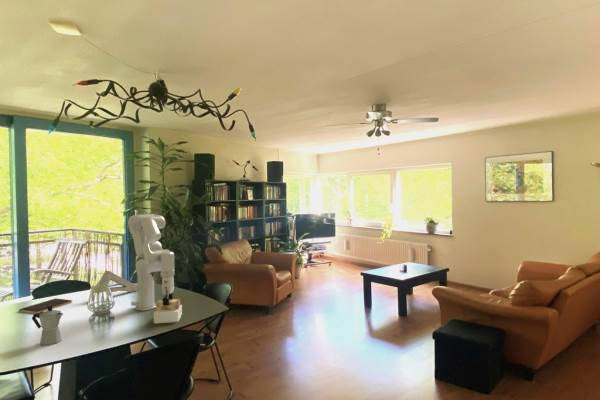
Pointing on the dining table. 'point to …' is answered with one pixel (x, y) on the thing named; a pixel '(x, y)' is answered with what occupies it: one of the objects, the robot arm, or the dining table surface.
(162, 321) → the white recessed tray
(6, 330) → the dining table surface
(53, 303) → the hardcover book
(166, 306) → the tan brown rectangular block
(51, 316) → the coffee maker
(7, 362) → the dining table surface
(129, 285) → the wall bracket
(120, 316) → the dining table surface
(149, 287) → the robot arm
